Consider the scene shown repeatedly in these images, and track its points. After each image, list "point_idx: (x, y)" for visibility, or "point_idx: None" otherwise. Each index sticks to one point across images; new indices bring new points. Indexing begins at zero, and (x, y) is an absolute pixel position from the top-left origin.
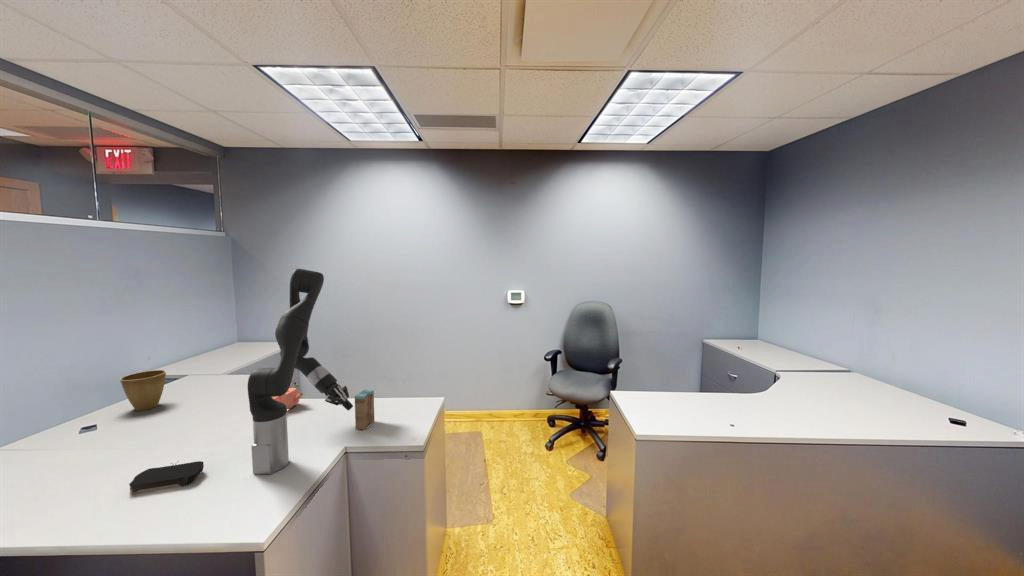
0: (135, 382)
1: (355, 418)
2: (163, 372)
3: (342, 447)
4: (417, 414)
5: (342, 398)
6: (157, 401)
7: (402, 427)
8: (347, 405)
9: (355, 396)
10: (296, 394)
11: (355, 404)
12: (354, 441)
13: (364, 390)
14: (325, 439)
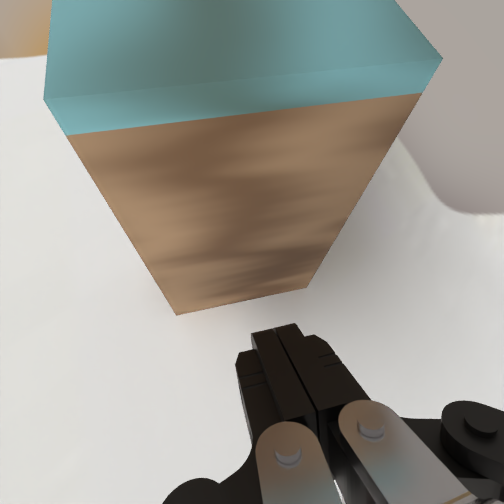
0: None
1: (326, 251)
2: None
3: (473, 217)
4: (42, 103)
5: (412, 469)
6: None
7: None
8: (330, 357)
9: (433, 49)
10: None
11: (374, 160)
12: (403, 205)
13: (114, 71)
14: (490, 381)
